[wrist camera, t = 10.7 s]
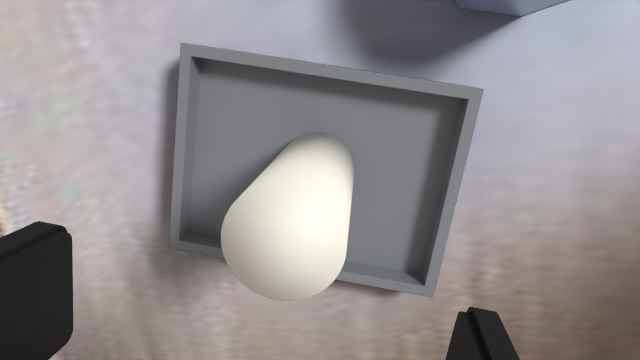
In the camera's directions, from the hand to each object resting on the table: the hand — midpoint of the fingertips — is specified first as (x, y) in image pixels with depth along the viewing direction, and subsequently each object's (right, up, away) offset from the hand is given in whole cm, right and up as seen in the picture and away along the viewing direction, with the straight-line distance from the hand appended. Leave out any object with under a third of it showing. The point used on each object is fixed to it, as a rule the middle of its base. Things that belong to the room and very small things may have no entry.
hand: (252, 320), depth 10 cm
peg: (+1, +4, +15) cm, 16 cm away
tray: (+1, +4, +16) cm, 17 cm away
